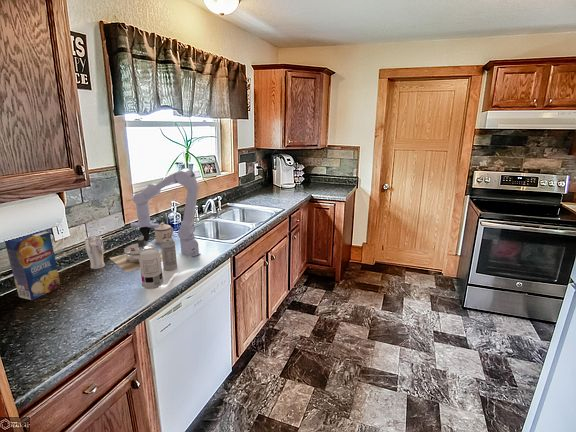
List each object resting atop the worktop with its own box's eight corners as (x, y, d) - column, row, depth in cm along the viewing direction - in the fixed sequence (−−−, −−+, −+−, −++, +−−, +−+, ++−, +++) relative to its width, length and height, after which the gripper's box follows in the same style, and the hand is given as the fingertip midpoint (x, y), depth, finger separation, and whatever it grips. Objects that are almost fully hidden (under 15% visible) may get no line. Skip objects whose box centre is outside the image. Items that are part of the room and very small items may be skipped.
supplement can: (138, 287, 138) (133, 254, 133) (152, 278, 145) (148, 247, 141) (153, 291, 135) (149, 257, 131) (167, 282, 142) (163, 249, 138)
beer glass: (86, 269, 153) (80, 239, 149) (99, 264, 159) (94, 234, 155) (96, 272, 151) (91, 241, 147) (109, 266, 157) (105, 236, 153)
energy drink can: (176, 266, 157) (173, 236, 153) (178, 271, 152) (175, 241, 148) (163, 268, 155) (160, 238, 151) (164, 273, 150) (160, 243, 146)
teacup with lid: (164, 246, 182) (162, 226, 179) (152, 243, 186) (149, 223, 183) (179, 239, 193) (177, 220, 189) (167, 237, 196) (165, 218, 193)
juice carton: (31, 300, 127) (18, 242, 121) (18, 297, 130) (4, 239, 123) (61, 286, 138) (50, 232, 131) (48, 283, 140) (36, 230, 134)
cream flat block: (159, 261, 161) (158, 252, 159) (130, 267, 153) (129, 258, 152) (149, 248, 176) (148, 240, 174) (122, 254, 168) (121, 246, 167)
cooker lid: (152, 253, 158) (151, 247, 157) (121, 256, 155) (120, 249, 154) (157, 240, 175) (156, 234, 174) (129, 242, 172) (128, 236, 171)
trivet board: (172, 260, 164) (172, 258, 164) (126, 274, 149) (126, 272, 149) (152, 248, 179) (152, 246, 179) (109, 260, 164) (109, 258, 164)
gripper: (125, 217, 164) (129, 242, 168) (152, 218, 162) (155, 244, 166) (133, 213, 171) (137, 237, 175) (160, 214, 169) (162, 239, 173)
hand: (146, 240), depth 171 cm, fingers closed, pressing on cooker lid
